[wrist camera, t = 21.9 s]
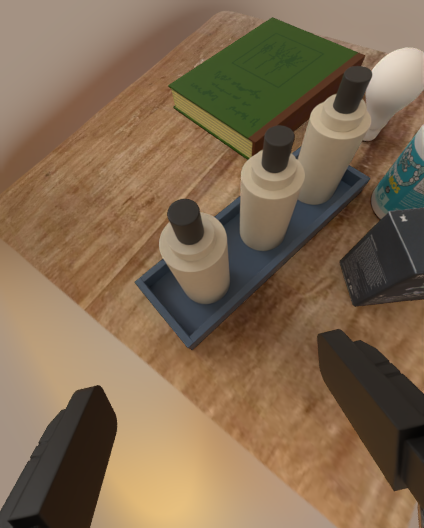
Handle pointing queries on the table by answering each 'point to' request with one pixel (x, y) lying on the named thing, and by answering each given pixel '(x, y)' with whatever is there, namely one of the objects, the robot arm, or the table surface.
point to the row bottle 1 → (270, 190)
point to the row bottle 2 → (334, 136)
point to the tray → (242, 263)
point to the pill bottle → (402, 180)
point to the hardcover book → (262, 84)
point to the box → (388, 260)
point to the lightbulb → (393, 86)
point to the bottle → (196, 252)
